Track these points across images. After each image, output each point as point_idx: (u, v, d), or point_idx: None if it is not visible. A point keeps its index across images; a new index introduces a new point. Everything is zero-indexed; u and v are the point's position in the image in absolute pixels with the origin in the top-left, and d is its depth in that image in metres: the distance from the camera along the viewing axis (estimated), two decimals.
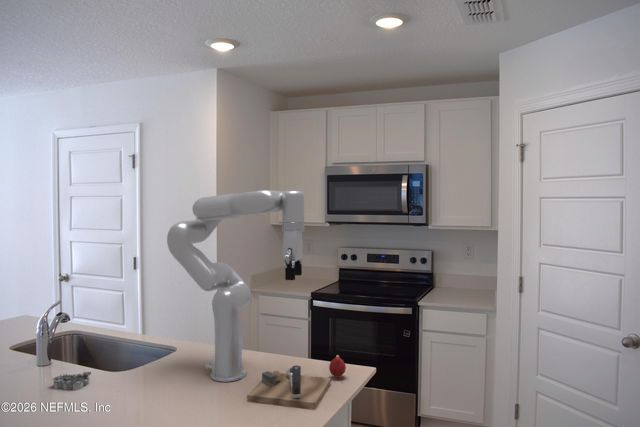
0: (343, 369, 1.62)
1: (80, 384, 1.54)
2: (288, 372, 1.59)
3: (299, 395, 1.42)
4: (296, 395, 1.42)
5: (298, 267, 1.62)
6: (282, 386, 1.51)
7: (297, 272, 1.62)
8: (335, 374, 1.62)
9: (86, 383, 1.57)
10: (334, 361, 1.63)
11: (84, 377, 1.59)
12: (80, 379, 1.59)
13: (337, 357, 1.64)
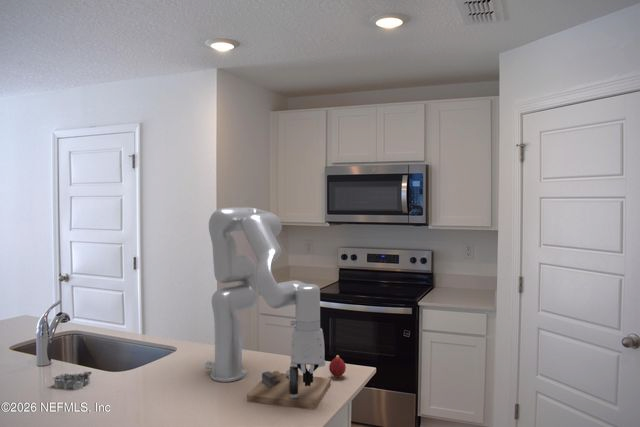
0: (343, 369, 1.62)
1: (80, 384, 1.54)
2: (288, 372, 1.59)
3: (296, 395, 1.42)
4: (293, 395, 1.42)
5: None
6: (282, 386, 1.51)
7: None
8: (335, 374, 1.62)
9: (86, 383, 1.57)
10: (334, 361, 1.63)
11: (85, 377, 1.60)
12: (81, 379, 1.59)
13: (337, 357, 1.64)
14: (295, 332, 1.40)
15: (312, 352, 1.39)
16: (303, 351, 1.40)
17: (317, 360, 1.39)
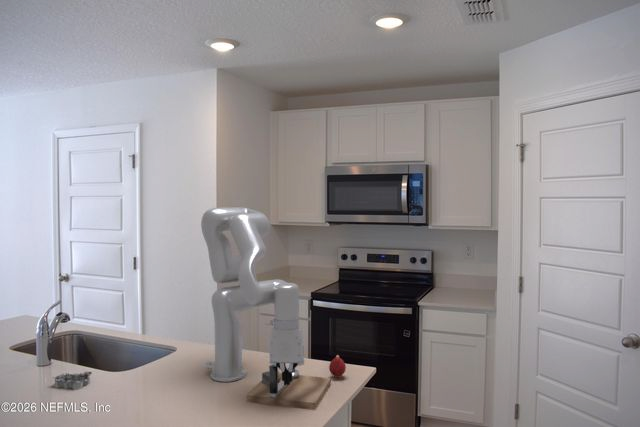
0: (343, 369, 1.62)
1: (80, 384, 1.54)
2: None
3: (274, 395, 1.42)
4: (272, 394, 1.43)
5: None
6: None
7: None
8: (335, 374, 1.62)
9: (86, 383, 1.57)
10: (334, 361, 1.63)
11: (85, 377, 1.60)
12: (81, 379, 1.59)
13: (337, 357, 1.64)
14: (274, 331, 1.40)
15: (291, 351, 1.40)
16: (282, 350, 1.40)
17: (296, 359, 1.40)
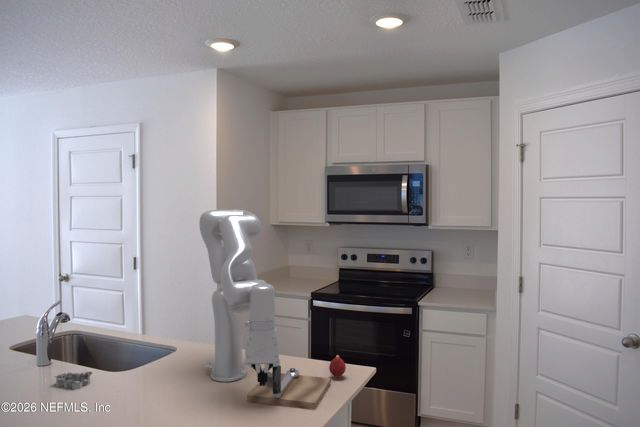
0: (343, 369, 1.62)
1: (79, 384, 1.54)
2: (288, 371, 1.60)
3: (278, 395, 1.42)
4: (275, 394, 1.42)
5: None
6: None
7: None
8: (335, 374, 1.62)
9: (86, 383, 1.57)
10: (334, 361, 1.63)
11: (86, 377, 1.60)
12: (82, 378, 1.59)
13: (337, 357, 1.64)
14: (250, 332, 1.40)
15: (267, 352, 1.40)
16: (258, 351, 1.39)
17: (272, 359, 1.40)
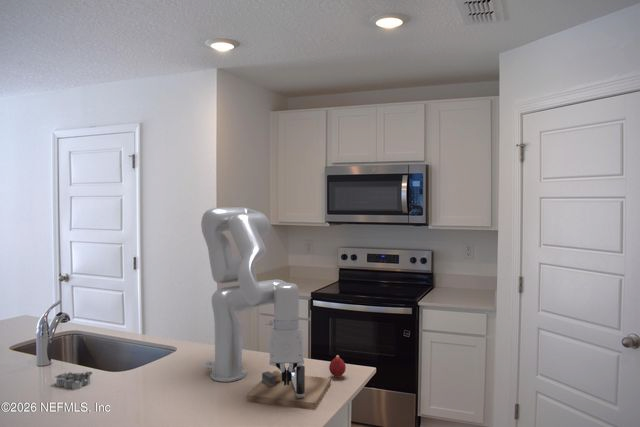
0: (343, 369, 1.62)
1: (79, 384, 1.54)
2: None
3: (303, 395, 1.42)
4: (300, 395, 1.42)
5: (286, 373, 1.43)
6: (282, 386, 1.51)
7: (286, 379, 1.43)
8: (335, 374, 1.62)
9: (86, 383, 1.57)
10: (334, 361, 1.63)
11: (86, 376, 1.60)
12: (82, 378, 1.60)
13: (337, 357, 1.64)
14: (274, 331, 1.40)
15: (291, 351, 1.40)
16: (282, 350, 1.40)
17: (296, 358, 1.40)
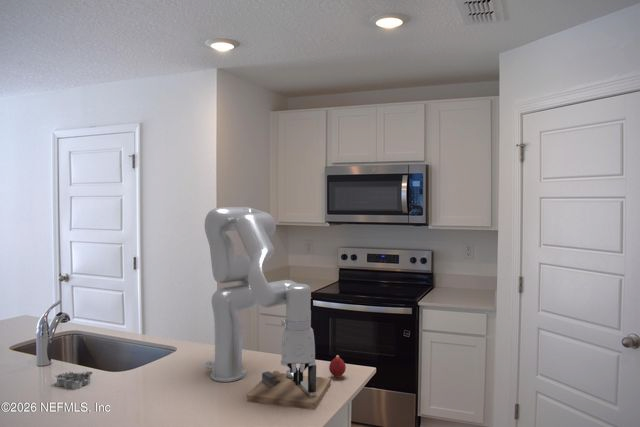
0: (343, 369, 1.62)
1: (79, 384, 1.54)
2: (289, 372, 1.59)
3: (315, 393, 1.44)
4: (313, 393, 1.43)
5: None
6: (282, 386, 1.51)
7: None
8: (335, 374, 1.62)
9: (86, 383, 1.57)
10: (334, 361, 1.63)
11: (86, 376, 1.60)
12: (82, 378, 1.60)
13: (337, 357, 1.64)
14: (286, 332, 1.40)
15: (303, 351, 1.40)
16: (294, 350, 1.40)
17: (308, 359, 1.41)
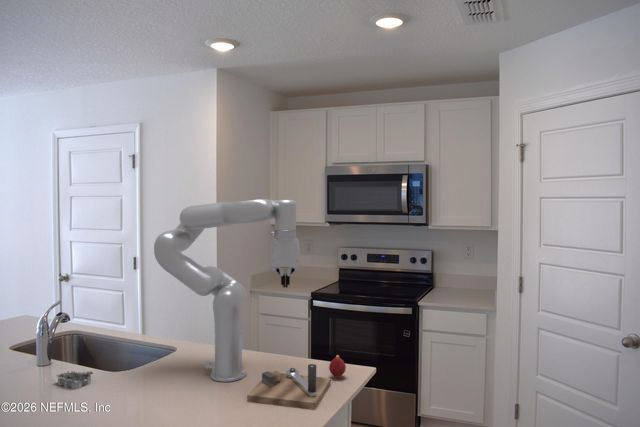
0: (343, 369, 1.62)
1: (78, 383, 1.54)
2: (289, 372, 1.59)
3: (315, 393, 1.44)
4: (313, 393, 1.43)
5: None
6: (282, 386, 1.51)
7: None
8: (335, 374, 1.62)
9: (86, 383, 1.57)
10: (334, 361, 1.63)
11: (87, 376, 1.60)
12: (83, 378, 1.60)
13: (337, 357, 1.64)
14: (275, 240, 1.61)
15: (290, 257, 1.61)
16: (282, 256, 1.61)
17: (294, 263, 1.61)
